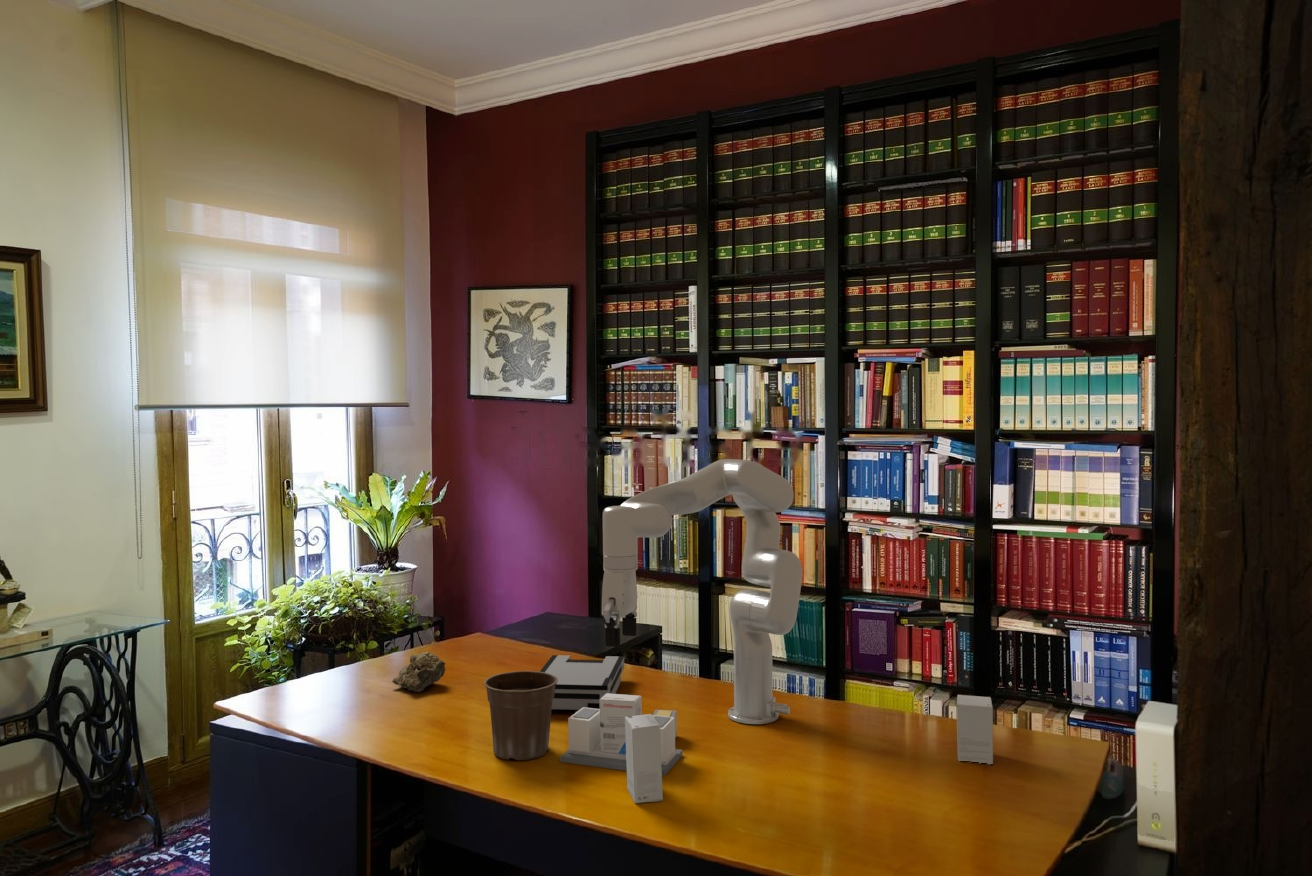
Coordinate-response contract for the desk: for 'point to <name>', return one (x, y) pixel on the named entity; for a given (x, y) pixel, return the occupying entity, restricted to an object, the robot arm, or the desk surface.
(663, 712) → the block
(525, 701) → the plant pot
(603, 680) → the game console
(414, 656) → the mineral specimen
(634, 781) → the skincare box
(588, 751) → the white u-shaped stand
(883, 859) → the desk surface
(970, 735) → the supplement box
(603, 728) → the ink box
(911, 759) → the desk surface
